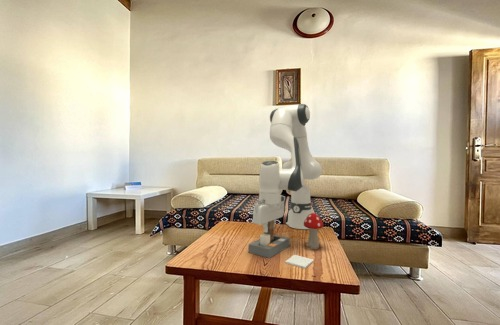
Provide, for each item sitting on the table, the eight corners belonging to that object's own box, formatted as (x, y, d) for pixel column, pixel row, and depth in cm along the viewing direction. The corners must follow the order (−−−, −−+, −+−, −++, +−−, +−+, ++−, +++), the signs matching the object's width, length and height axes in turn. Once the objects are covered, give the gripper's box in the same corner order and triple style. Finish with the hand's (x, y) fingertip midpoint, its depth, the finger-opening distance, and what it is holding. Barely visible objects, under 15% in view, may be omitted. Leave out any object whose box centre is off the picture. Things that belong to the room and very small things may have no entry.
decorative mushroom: (323, 251, 101) (324, 216, 101) (303, 249, 103) (303, 215, 103) (322, 244, 110) (323, 211, 110) (303, 242, 112) (303, 210, 112)
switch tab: (264, 246, 102) (264, 233, 102) (270, 247, 101) (270, 234, 101) (260, 248, 100) (260, 235, 100) (266, 249, 98) (266, 236, 98)
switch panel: (270, 241, 114) (270, 233, 114) (289, 245, 108) (289, 237, 108) (248, 252, 99) (248, 243, 99) (269, 258, 93) (269, 249, 93)
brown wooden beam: (273, 238, 103) (273, 215, 103) (270, 240, 101) (270, 217, 101) (267, 237, 105) (267, 214, 105) (264, 239, 102) (264, 216, 102)
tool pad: (294, 256, 96) (294, 254, 96) (313, 261, 91) (313, 259, 91) (285, 262, 89) (285, 261, 89) (305, 268, 84) (305, 266, 84)
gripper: (262, 202, 92) (262, 238, 92) (286, 196, 109) (286, 227, 109) (249, 200, 96) (248, 235, 96) (274, 195, 113) (274, 224, 113)
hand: (269, 230), depth 103 cm, fingers closed on brown wooden beam, 3 cm apart
